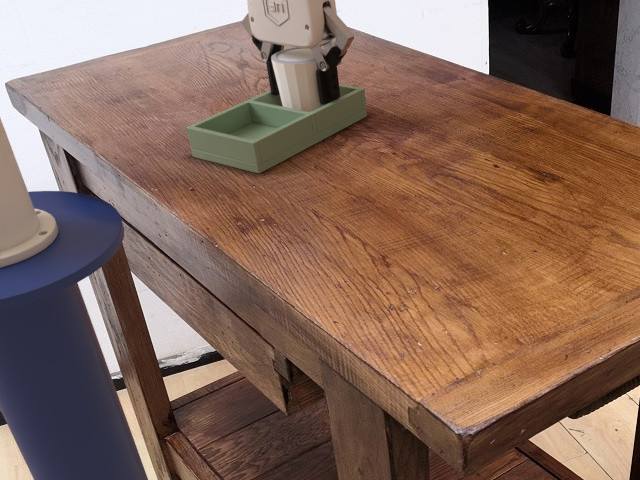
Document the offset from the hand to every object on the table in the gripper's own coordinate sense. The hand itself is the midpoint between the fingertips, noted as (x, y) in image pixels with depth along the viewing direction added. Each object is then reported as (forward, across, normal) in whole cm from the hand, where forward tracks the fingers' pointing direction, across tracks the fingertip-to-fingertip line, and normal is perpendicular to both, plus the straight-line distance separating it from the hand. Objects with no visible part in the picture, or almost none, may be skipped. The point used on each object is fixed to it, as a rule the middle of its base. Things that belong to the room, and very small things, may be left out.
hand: (305, 95), depth 102 cm
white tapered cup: (+2, 0, 0) cm, 2 cm away
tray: (+3, 0, -5) cm, 6 cm away
